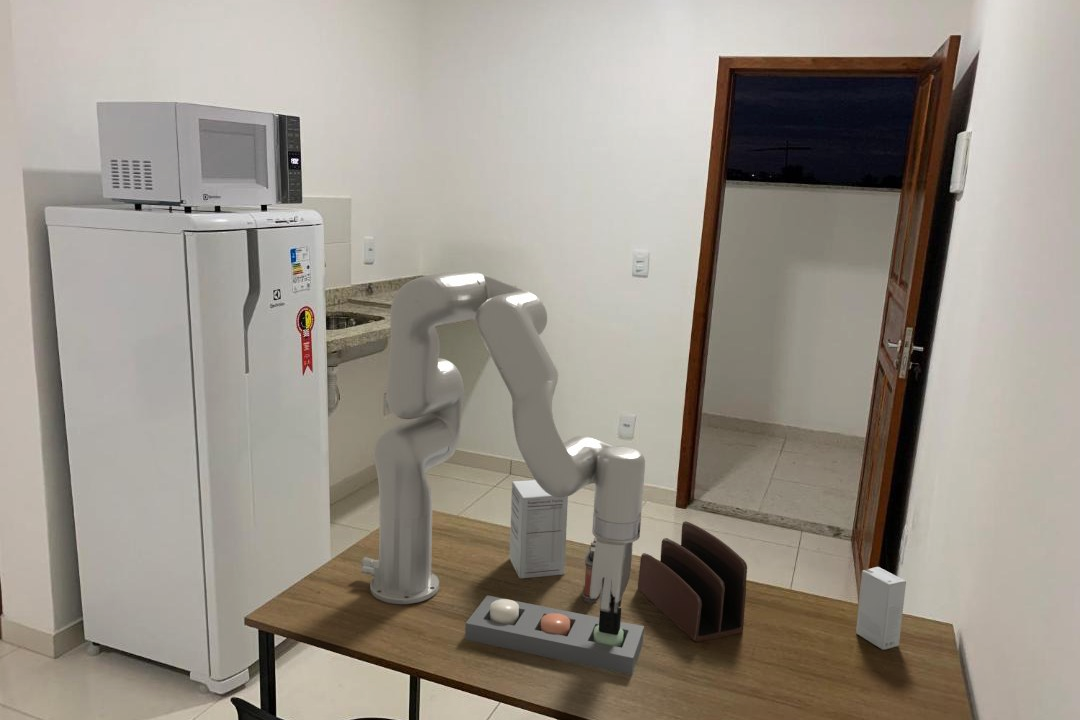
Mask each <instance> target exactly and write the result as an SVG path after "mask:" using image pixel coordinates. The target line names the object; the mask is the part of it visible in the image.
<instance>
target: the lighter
mask: <svg viewBox="0 0 1080 720" xmlns="http://www.w3.org/2000/svg"><path fill="white" fill-rule="evenodd" d="M596 540H597V538H596V537H595V536H594V538H593V541H592V542H591V543H590V547H589V548H588V550H587V551H586V553H585V558H584V566H585V571H584V572H585V575H584V585H583V590H582V599H583V600H584V601H585V602H587V603H596V602H598V600H599V599H601V590H600V592H599V594H598V596H597V598H596V599H595V598H594V599H591V597H590V585H591V576H592V567H593V558H594V551H595V545H596Z"/></svg>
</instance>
